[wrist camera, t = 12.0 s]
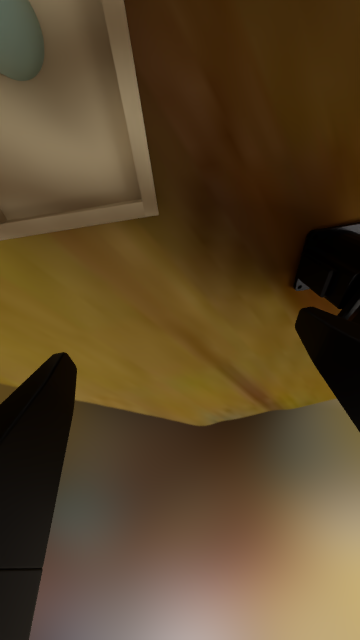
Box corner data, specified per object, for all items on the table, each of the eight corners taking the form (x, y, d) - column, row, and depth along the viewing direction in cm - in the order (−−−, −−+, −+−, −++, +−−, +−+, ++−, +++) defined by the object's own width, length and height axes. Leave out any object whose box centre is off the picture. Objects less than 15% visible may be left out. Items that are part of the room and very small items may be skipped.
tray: (-509, -580, 5) (-780, -885, 3) (26, -582, 5) (-16, -850, 4) (6, 233, 16) (-7, 241, 15) (157, 209, 17) (158, 214, 15)
